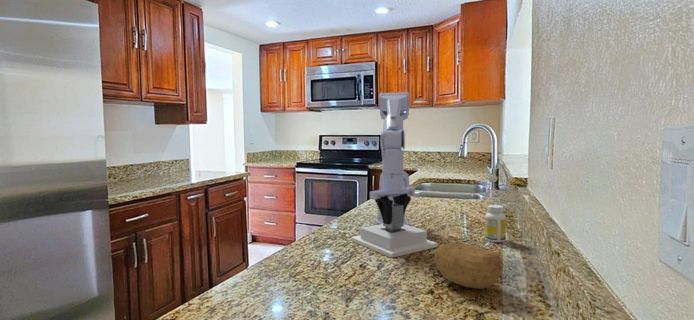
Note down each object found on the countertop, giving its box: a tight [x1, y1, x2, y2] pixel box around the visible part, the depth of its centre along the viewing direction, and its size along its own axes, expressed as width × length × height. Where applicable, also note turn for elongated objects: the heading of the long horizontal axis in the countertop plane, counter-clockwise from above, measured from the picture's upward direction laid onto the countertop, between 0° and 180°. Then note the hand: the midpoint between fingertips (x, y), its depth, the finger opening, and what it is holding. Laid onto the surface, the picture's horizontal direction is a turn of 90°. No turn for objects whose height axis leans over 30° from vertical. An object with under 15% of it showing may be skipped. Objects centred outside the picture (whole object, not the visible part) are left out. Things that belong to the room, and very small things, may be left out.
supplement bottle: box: [484, 204, 507, 243], centre depth 104 cm, size 5×5×10 cm
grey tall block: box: [383, 203, 404, 233], centre depth 102 cm, size 4×4×8 cm
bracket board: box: [350, 224, 438, 259], centre depth 102 cm, size 18×16×4 cm
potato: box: [433, 242, 504, 290], centre depth 74 cm, size 10×14×8 cm
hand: (392, 222), depth 102 cm, fingers closed on grey tall block, 4 cm apart
